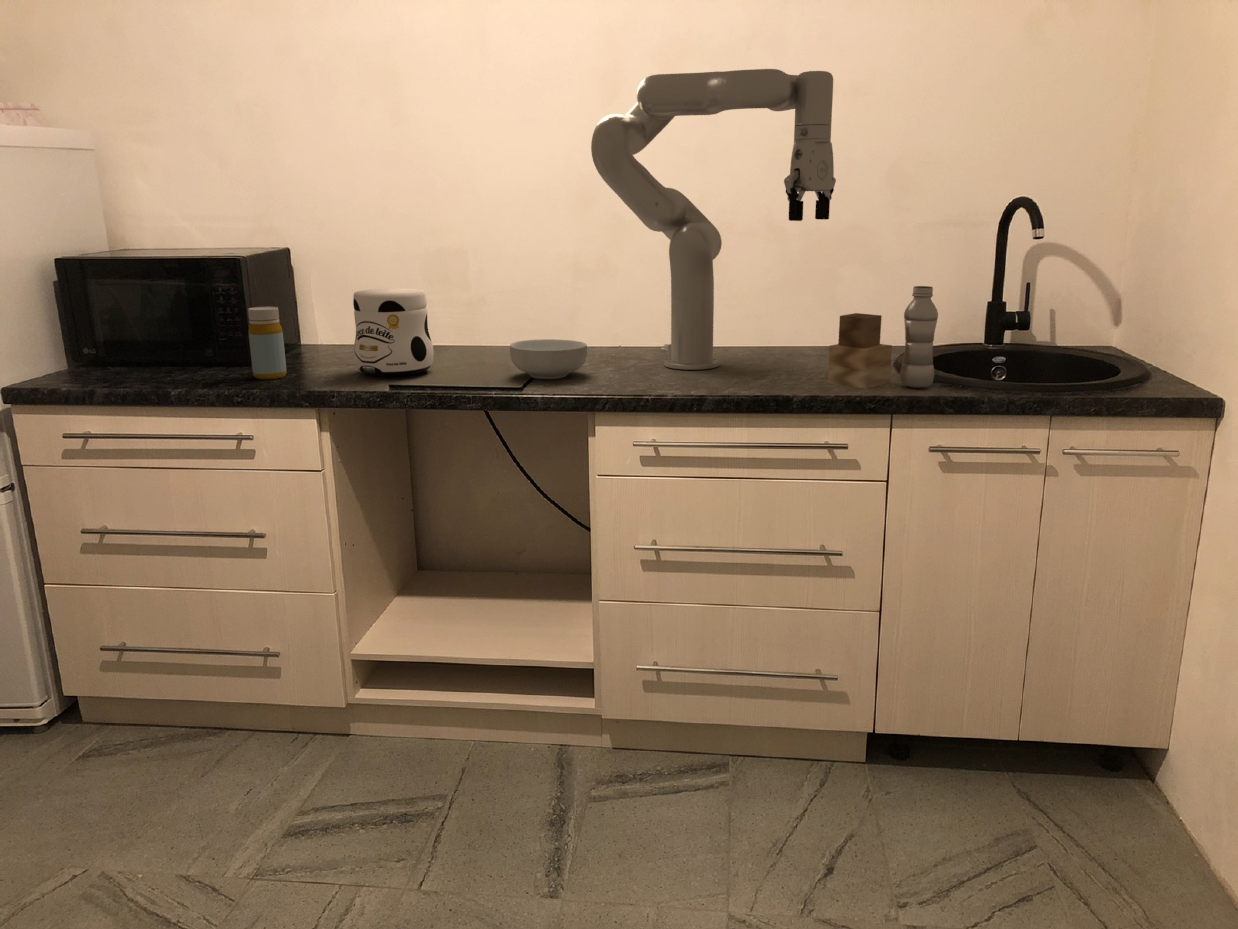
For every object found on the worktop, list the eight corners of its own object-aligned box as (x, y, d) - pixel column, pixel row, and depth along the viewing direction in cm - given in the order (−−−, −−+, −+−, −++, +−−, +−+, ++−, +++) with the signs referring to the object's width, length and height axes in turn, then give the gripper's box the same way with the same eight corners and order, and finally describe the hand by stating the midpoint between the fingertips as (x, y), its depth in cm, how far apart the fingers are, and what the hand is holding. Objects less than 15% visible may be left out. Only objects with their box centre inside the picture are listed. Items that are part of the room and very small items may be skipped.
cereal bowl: (578, 384, 206) (577, 350, 204) (501, 382, 209) (499, 349, 207) (594, 370, 222) (594, 338, 220) (523, 368, 225) (521, 337, 223)
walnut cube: (838, 345, 203) (839, 315, 201) (854, 341, 207) (856, 312, 205) (863, 348, 199) (865, 318, 197) (879, 344, 203) (881, 315, 201)
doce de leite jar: (351, 382, 211) (344, 296, 206) (359, 368, 227) (352, 288, 222) (433, 379, 213) (428, 294, 208) (435, 365, 230) (431, 287, 225)
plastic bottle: (916, 391, 195) (923, 289, 189) (892, 386, 200) (898, 286, 195) (940, 388, 197) (948, 287, 192) (916, 383, 203) (923, 284, 198)
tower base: (828, 384, 205) (829, 364, 204) (852, 378, 211) (853, 359, 210) (866, 389, 198) (867, 370, 197) (889, 383, 205) (891, 364, 203)
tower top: (828, 364, 204) (829, 345, 202) (853, 359, 210) (854, 340, 208) (866, 370, 197) (867, 350, 196) (890, 364, 203) (891, 345, 202)
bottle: (293, 374, 219) (286, 306, 215) (273, 380, 213) (265, 310, 209) (267, 373, 222) (260, 305, 218) (246, 378, 215) (238, 309, 211)
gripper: (803, 133, 197) (800, 221, 202) (850, 135, 209) (846, 219, 213) (772, 134, 202) (770, 220, 207) (820, 137, 214) (817, 218, 218)
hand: (808, 219), depth 210 cm, fingers open, 9 cm apart
